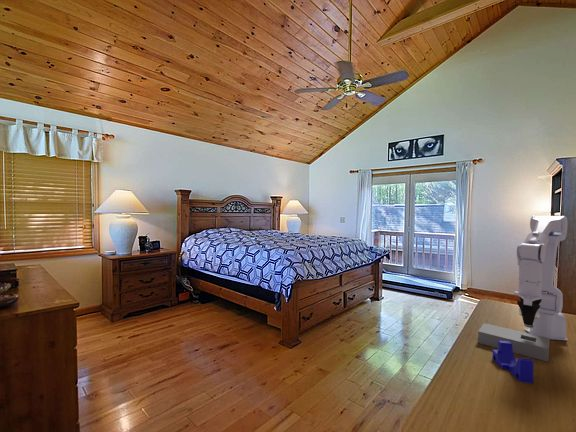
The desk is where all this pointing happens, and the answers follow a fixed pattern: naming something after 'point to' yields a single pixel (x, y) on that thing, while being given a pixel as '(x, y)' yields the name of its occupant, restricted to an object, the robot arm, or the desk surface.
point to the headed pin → (535, 318)
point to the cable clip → (513, 362)
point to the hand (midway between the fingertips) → (528, 322)
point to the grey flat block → (515, 341)
